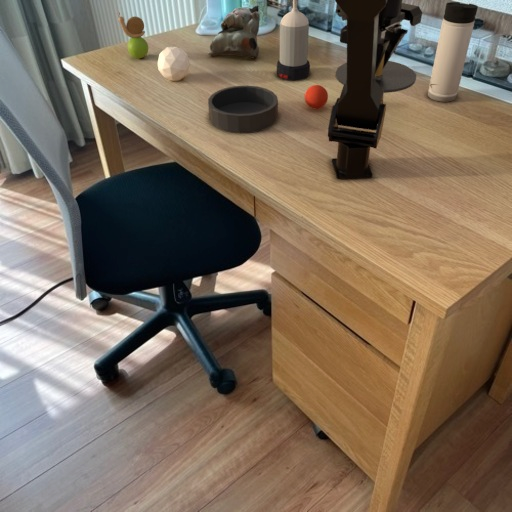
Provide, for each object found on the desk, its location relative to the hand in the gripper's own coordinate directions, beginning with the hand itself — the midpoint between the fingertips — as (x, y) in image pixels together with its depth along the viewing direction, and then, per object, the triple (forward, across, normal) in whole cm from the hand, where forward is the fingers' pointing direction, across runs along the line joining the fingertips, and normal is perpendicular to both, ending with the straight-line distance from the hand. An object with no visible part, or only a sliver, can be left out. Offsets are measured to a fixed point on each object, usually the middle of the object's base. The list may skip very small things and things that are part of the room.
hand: (376, 71), depth 101 cm
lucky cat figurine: (+12, -13, -50) cm, 52 cm away
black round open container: (+12, +12, -24) cm, 29 cm away
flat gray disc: (+1, 0, 0) cm, 1 cm away
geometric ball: (+12, +8, -50) cm, 52 cm away
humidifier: (+12, -12, -30) cm, 34 cm away
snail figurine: (+12, +5, -69) cm, 70 cm away
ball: (+10, -1, -14) cm, 17 cm away
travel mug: (+12, -23, +4) cm, 27 cm away
